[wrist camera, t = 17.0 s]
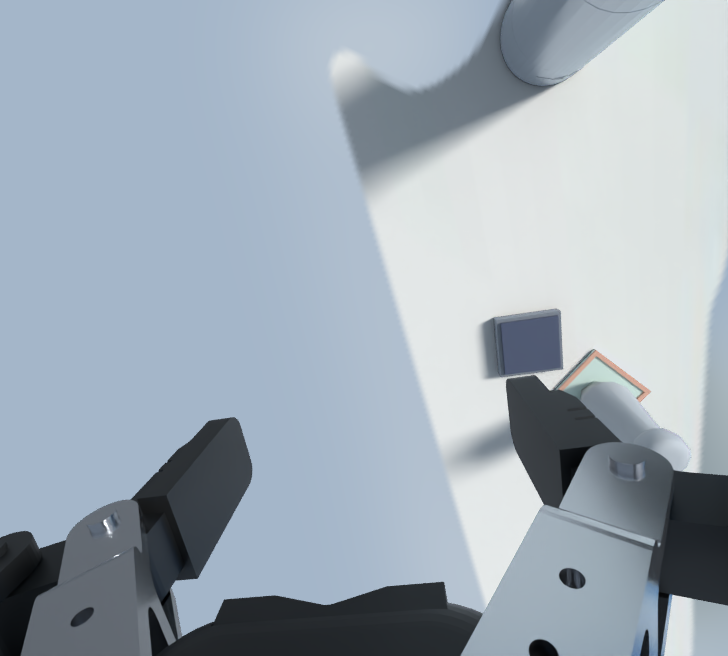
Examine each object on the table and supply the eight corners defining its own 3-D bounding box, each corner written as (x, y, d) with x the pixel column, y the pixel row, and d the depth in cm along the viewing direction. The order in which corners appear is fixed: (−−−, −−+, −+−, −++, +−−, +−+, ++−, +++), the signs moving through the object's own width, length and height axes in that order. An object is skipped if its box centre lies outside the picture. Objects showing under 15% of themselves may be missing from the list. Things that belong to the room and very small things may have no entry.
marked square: (543, 401, 48) (544, 403, 47) (594, 349, 45) (596, 350, 45) (596, 439, 48) (598, 442, 48) (648, 389, 46) (651, 391, 46)
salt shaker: (632, 386, 46) (721, 448, 33) (605, 425, 48) (680, 499, 35) (588, 367, 46) (660, 421, 33) (562, 407, 47) (622, 474, 35)
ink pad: (493, 317, 45) (497, 320, 44) (556, 308, 45) (562, 311, 43) (498, 373, 47) (502, 378, 46) (558, 365, 46) (564, 370, 45)
